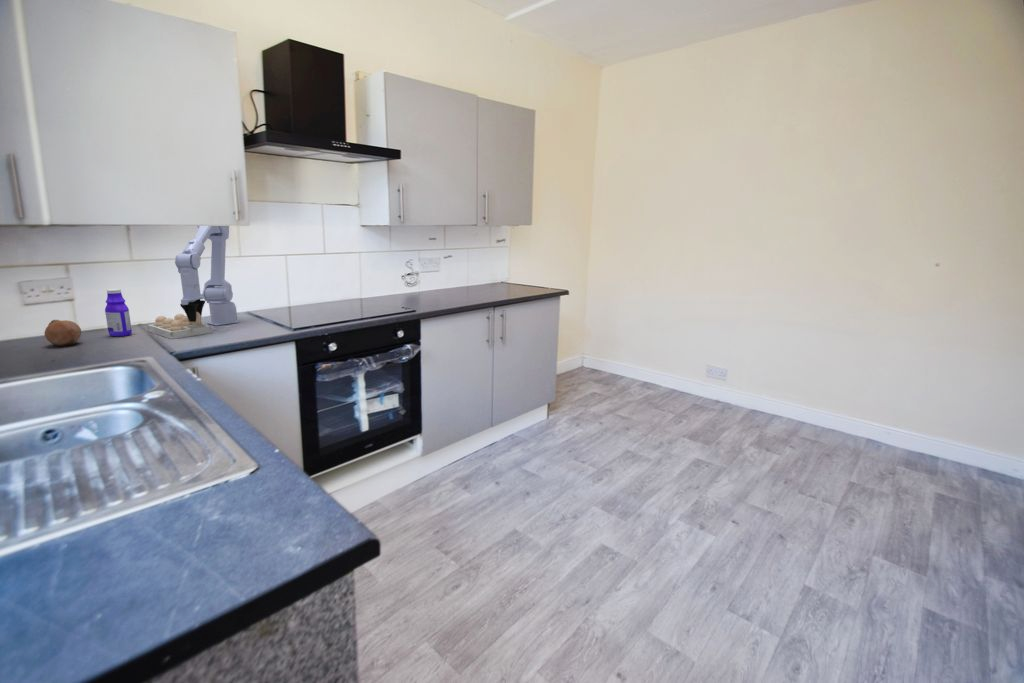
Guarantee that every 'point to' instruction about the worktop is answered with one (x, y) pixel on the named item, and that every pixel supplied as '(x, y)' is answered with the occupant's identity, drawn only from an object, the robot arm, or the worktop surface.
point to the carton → (177, 327)
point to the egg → (197, 319)
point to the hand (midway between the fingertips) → (195, 320)
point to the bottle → (117, 314)
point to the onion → (62, 332)
